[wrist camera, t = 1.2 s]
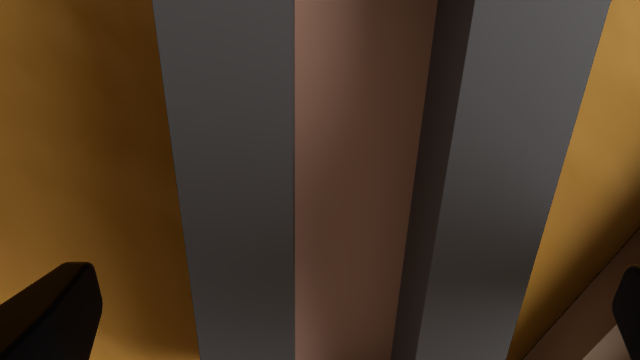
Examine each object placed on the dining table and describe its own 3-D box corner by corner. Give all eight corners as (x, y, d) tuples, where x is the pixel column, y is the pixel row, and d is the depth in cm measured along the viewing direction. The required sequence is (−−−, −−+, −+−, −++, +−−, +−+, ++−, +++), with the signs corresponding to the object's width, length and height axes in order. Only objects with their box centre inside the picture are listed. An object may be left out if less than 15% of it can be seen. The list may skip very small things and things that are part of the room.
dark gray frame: (432, 360, 16) (466, 492, 13) (237, 360, 16) (218, 494, 12) (538, -195, 9) (681, -239, 6) (191, -206, 9) (117, -259, 5)
